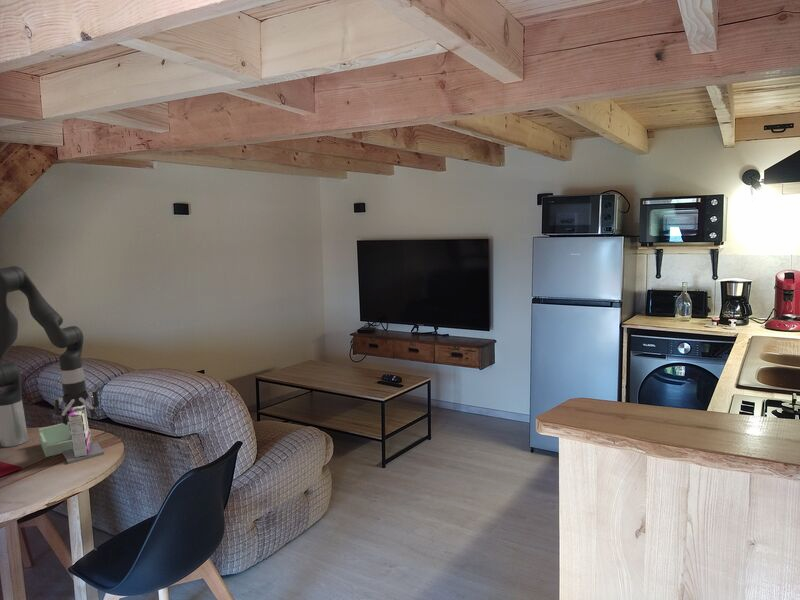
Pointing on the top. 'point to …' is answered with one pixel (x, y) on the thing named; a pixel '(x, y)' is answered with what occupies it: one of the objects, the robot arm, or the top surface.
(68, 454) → the slate tile
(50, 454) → the frame
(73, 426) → the candy bar box
